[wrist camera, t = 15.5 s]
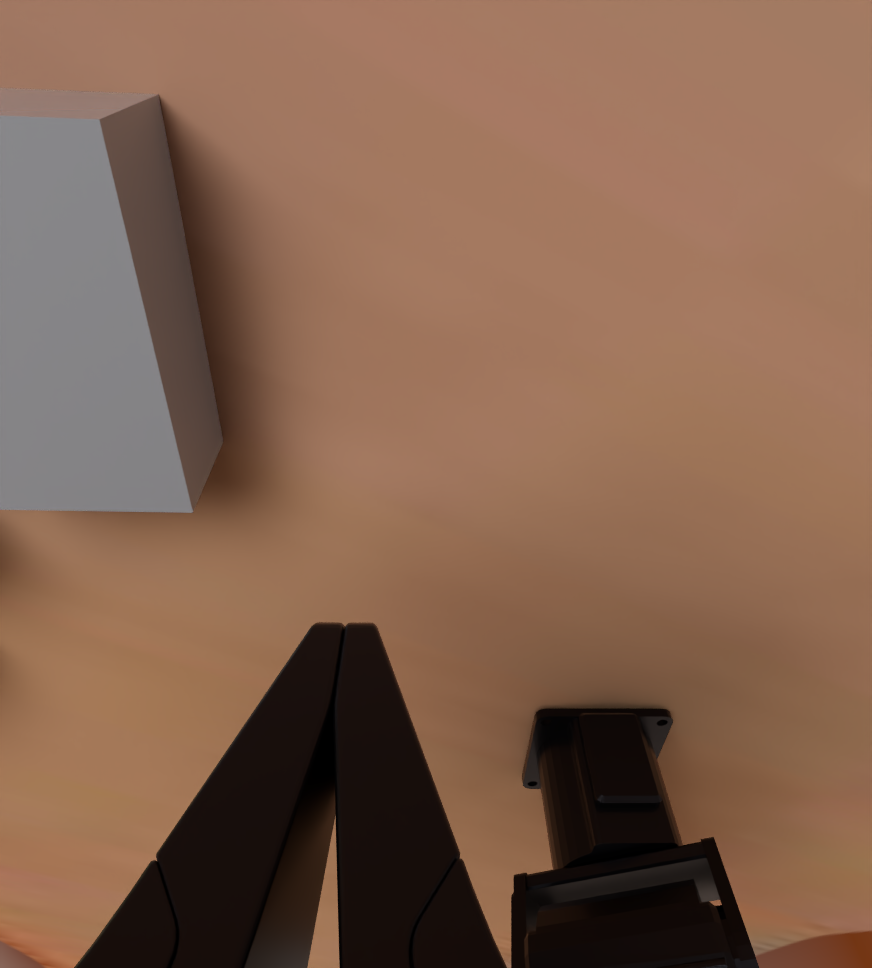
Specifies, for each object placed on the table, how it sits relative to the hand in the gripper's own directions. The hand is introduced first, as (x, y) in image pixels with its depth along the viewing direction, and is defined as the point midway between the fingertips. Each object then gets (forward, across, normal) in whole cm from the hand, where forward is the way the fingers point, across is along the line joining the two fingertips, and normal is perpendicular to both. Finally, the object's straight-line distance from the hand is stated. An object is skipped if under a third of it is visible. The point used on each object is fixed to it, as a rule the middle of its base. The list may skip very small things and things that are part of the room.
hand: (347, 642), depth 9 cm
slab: (+13, +9, 0) cm, 16 cm away
